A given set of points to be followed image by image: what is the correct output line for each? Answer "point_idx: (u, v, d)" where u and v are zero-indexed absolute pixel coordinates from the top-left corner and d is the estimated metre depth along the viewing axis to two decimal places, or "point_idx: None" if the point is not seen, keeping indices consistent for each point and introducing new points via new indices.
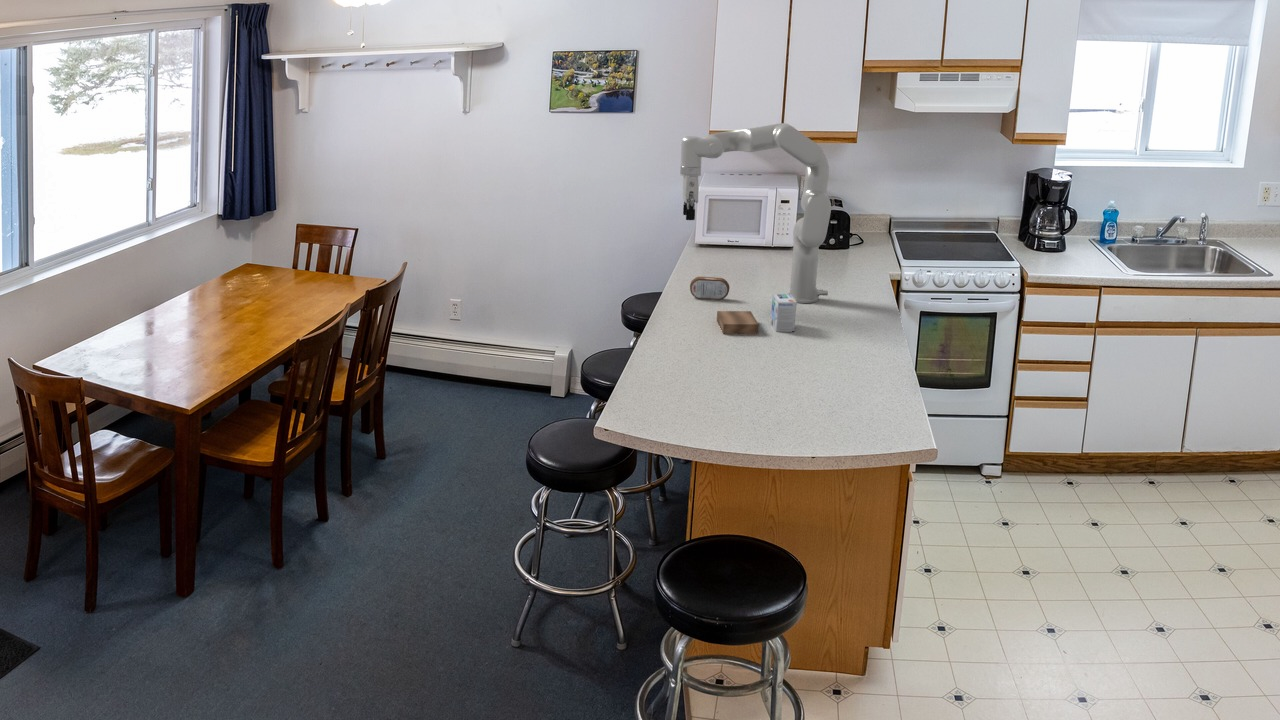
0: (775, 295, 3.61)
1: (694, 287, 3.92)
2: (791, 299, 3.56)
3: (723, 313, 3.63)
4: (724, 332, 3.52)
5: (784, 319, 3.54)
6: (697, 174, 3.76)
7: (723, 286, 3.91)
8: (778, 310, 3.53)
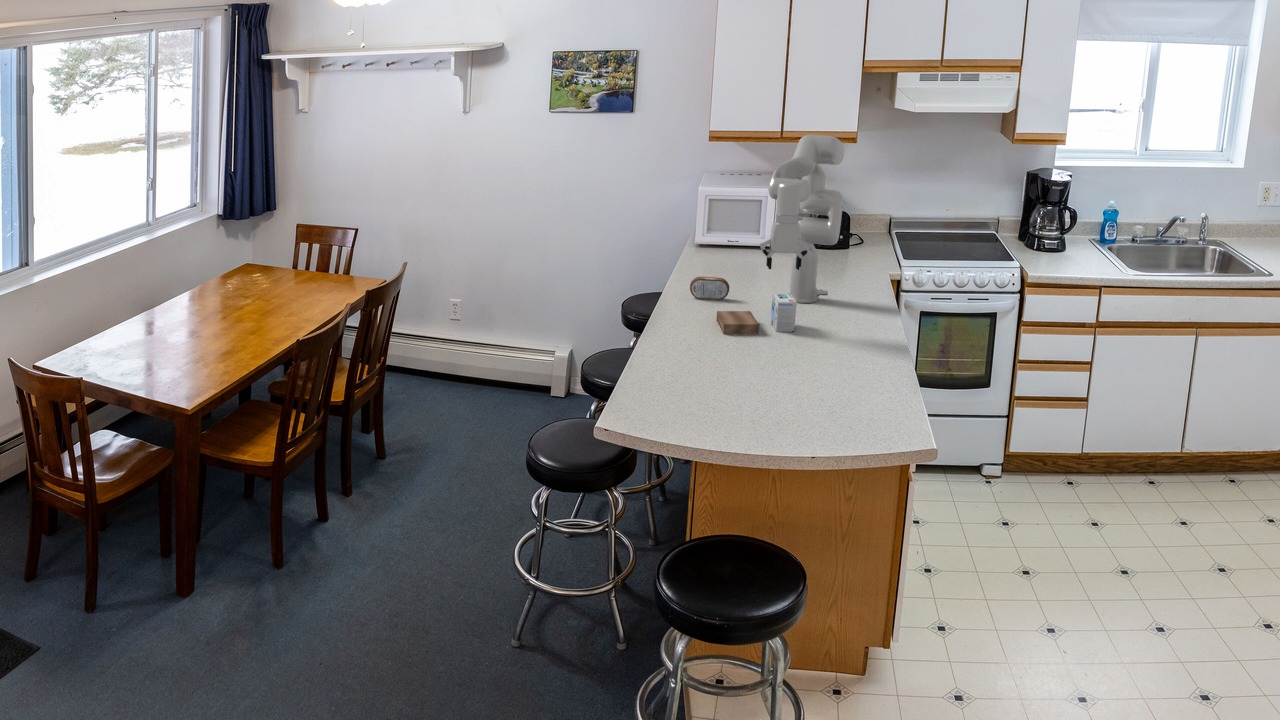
0: (775, 295, 3.61)
1: (694, 287, 3.92)
2: (791, 299, 3.56)
3: (723, 313, 3.63)
4: (724, 332, 3.52)
5: (784, 319, 3.54)
6: None
7: (723, 286, 3.91)
8: (778, 310, 3.53)
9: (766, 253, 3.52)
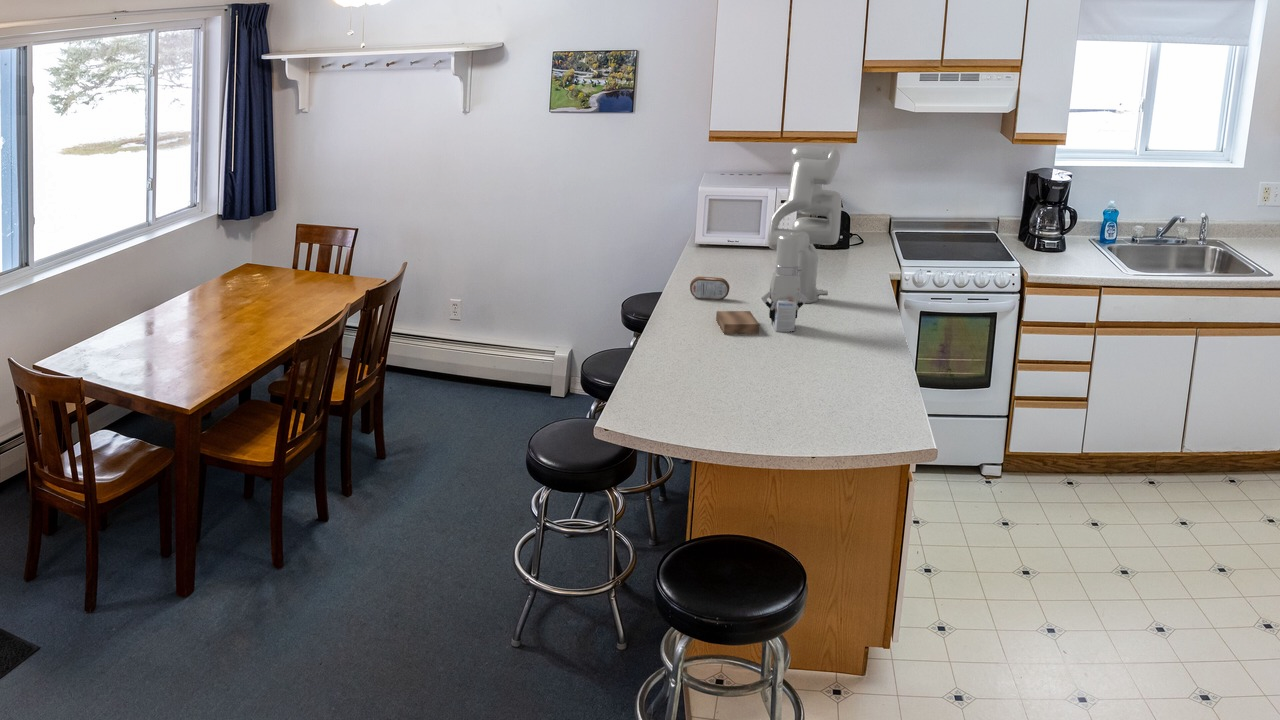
0: None
1: (694, 287, 3.92)
2: (791, 299, 3.56)
3: (723, 313, 3.63)
4: (725, 332, 3.52)
5: (784, 319, 3.54)
6: None
7: (723, 286, 3.91)
8: (778, 310, 3.53)
9: (769, 305, 3.57)
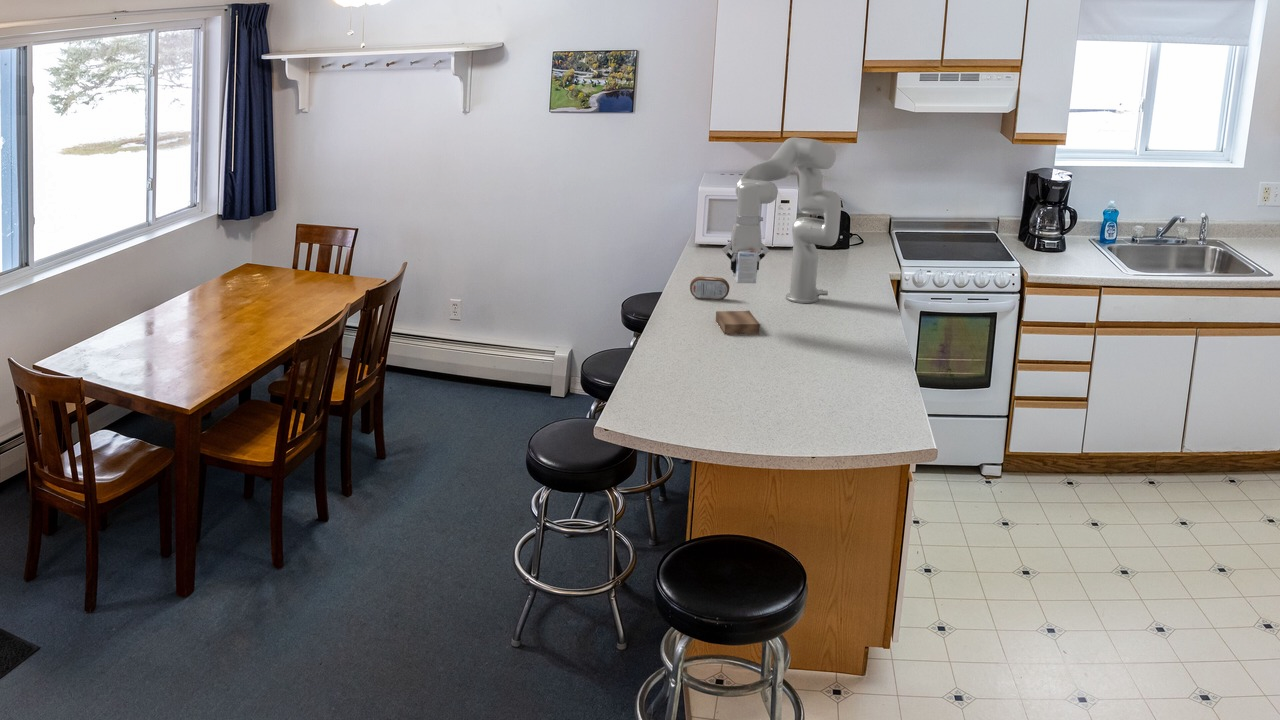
0: None
1: (694, 287, 3.92)
2: (752, 250, 3.49)
3: (723, 313, 3.63)
4: (725, 332, 3.51)
5: (745, 270, 3.48)
6: None
7: (723, 286, 3.91)
8: (739, 261, 3.47)
9: (730, 257, 3.51)
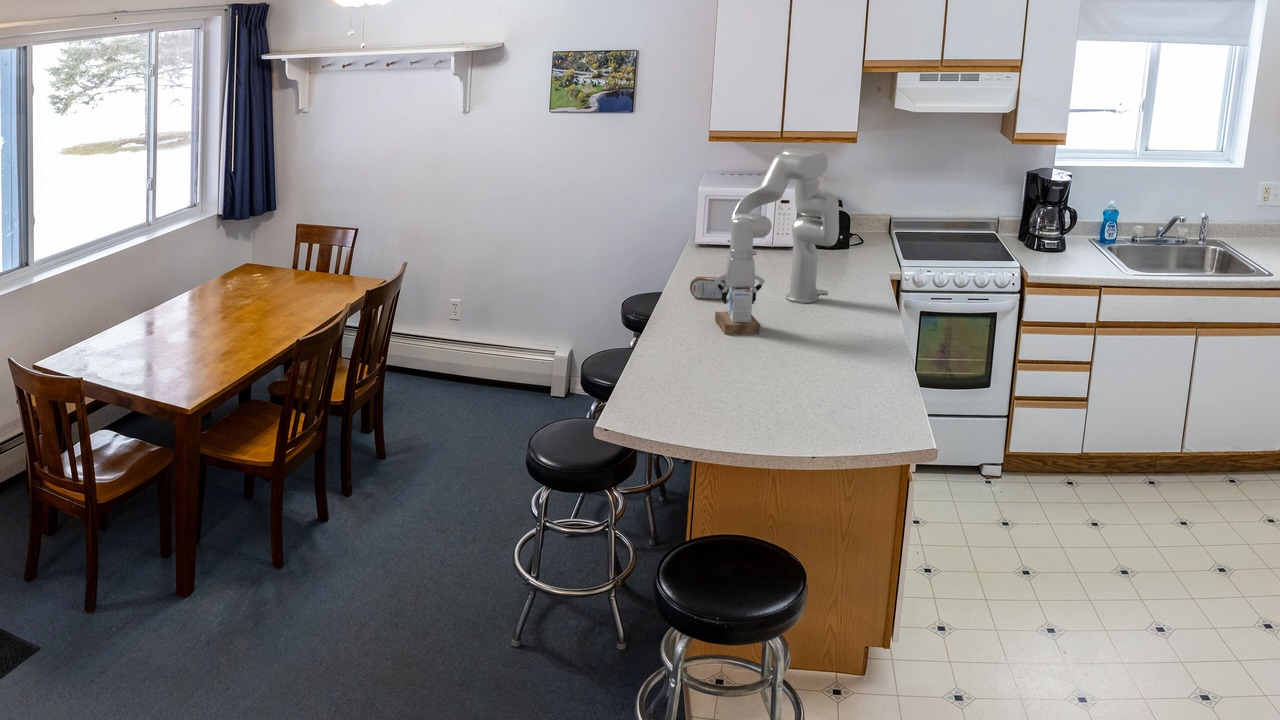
0: None
1: (694, 287, 3.92)
2: (747, 289, 3.54)
3: (722, 314, 3.63)
4: (726, 333, 3.51)
5: (740, 309, 3.52)
6: None
7: None
8: (734, 300, 3.51)
9: (721, 288, 3.54)
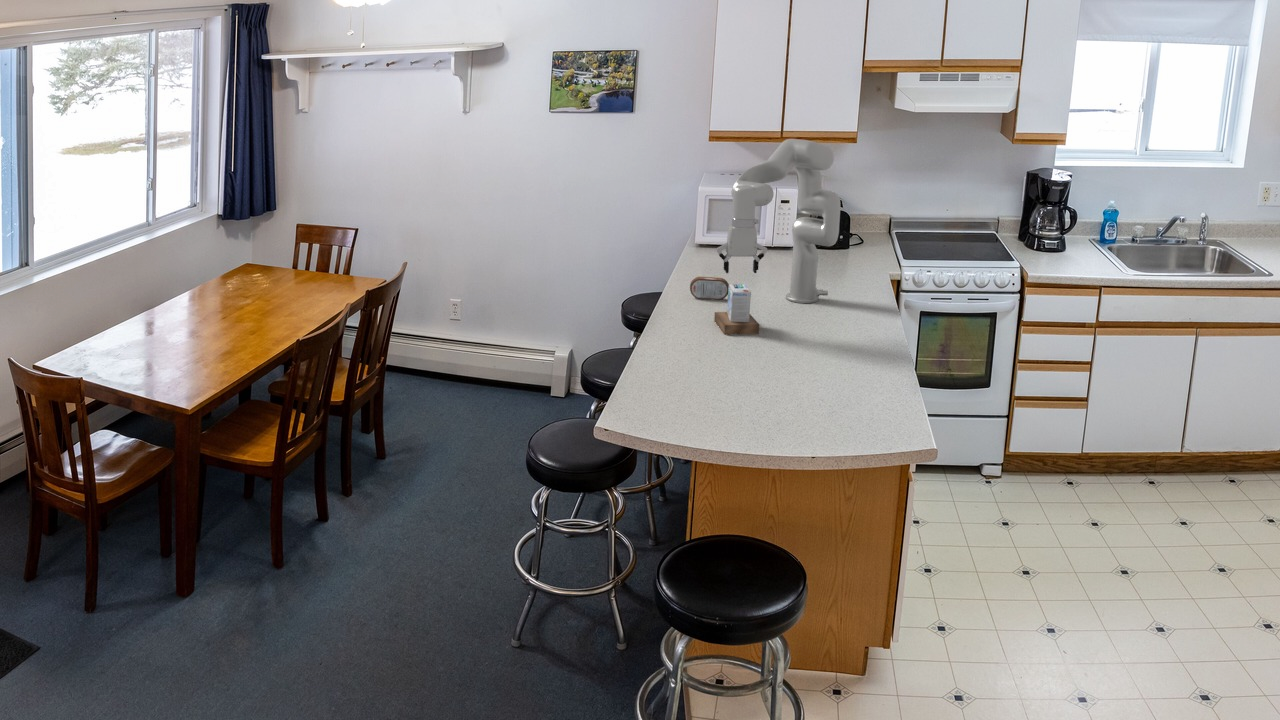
0: (731, 285, 3.59)
1: (694, 287, 3.92)
2: (746, 289, 3.54)
3: (721, 314, 3.63)
4: (725, 333, 3.51)
5: (738, 309, 3.52)
6: None
7: (723, 286, 3.91)
8: (732, 300, 3.51)
9: (723, 257, 3.51)
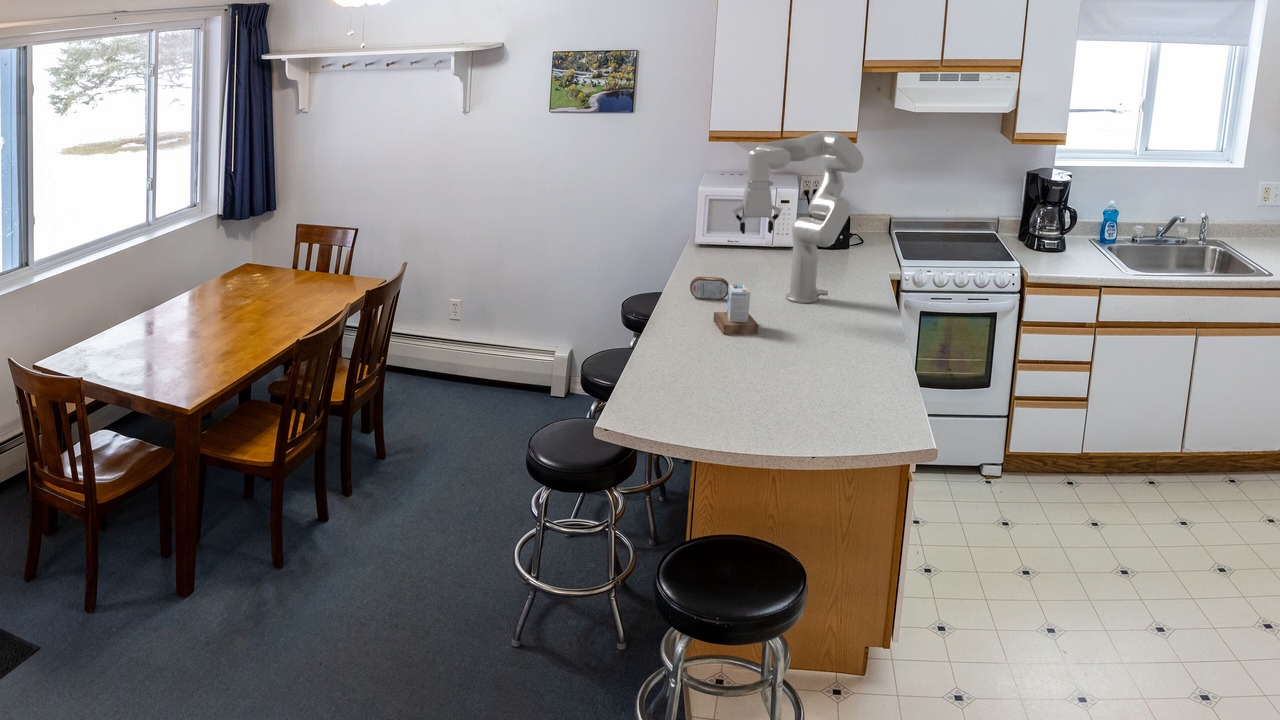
0: (731, 285, 3.59)
1: (694, 287, 3.92)
2: (745, 289, 3.54)
3: (721, 314, 3.63)
4: (724, 333, 3.51)
5: (737, 309, 3.52)
6: None
7: (723, 286, 3.91)
8: (731, 300, 3.52)
9: (739, 218, 3.67)
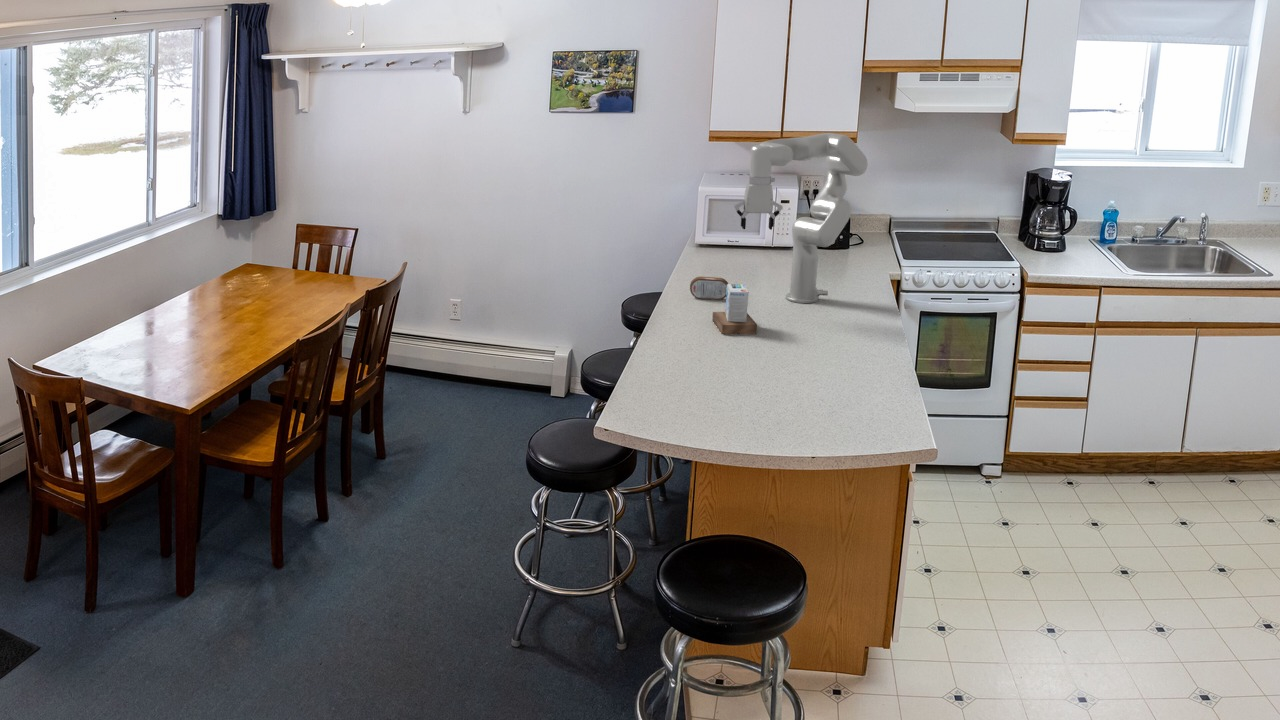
0: (729, 285, 3.58)
1: (694, 287, 3.92)
2: (744, 289, 3.53)
3: (719, 314, 3.63)
4: (723, 333, 3.51)
5: (736, 309, 3.52)
6: None
7: (723, 286, 3.91)
8: (730, 300, 3.51)
9: (740, 214, 3.69)
